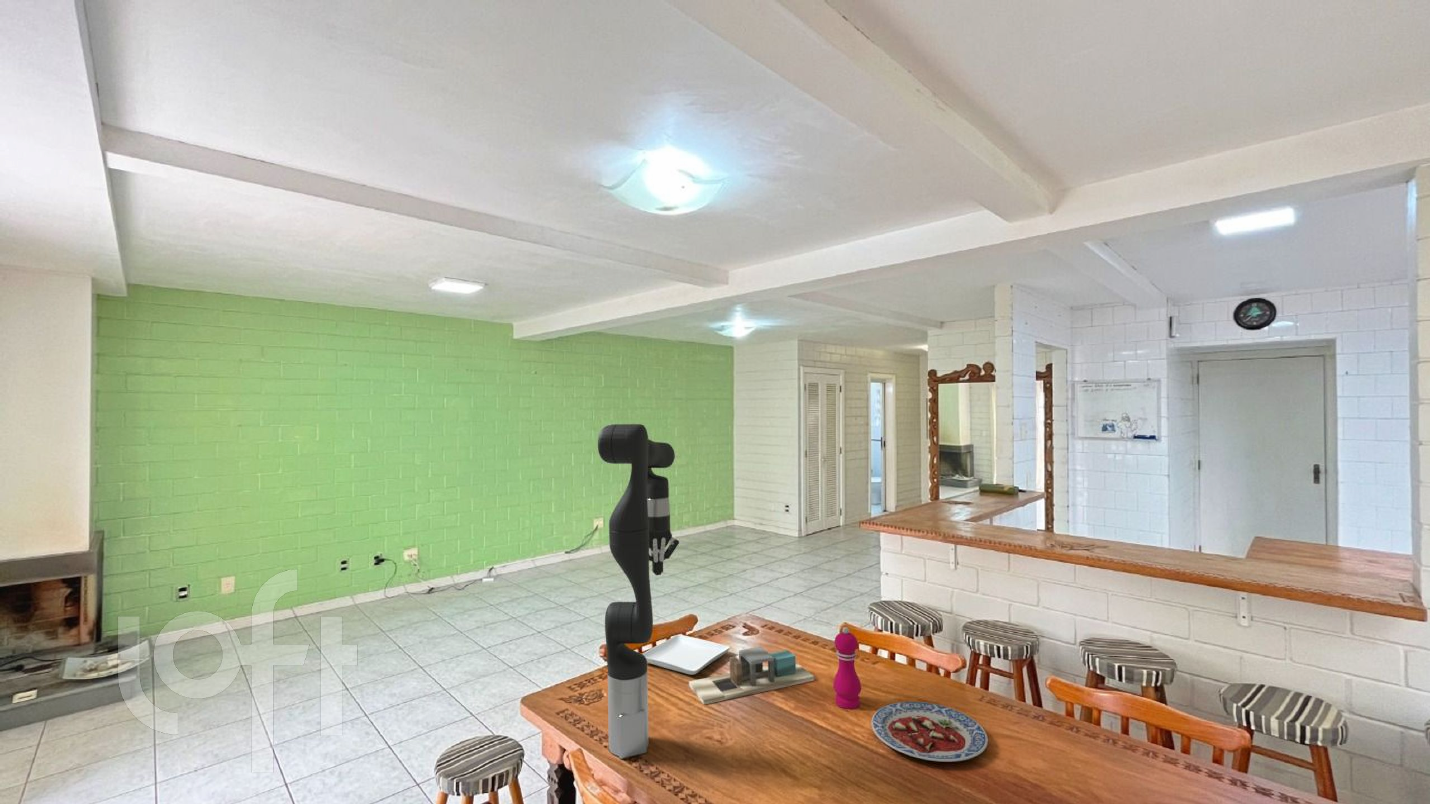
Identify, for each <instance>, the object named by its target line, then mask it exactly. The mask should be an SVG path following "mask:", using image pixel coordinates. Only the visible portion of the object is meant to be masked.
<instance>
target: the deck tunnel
mask: <svg viewBox="0 0 1430 804" xmlns="http://www.w3.org/2000/svg"><path fill="white" fill-rule="evenodd" d="M738 660H739V661H740V662H741V663H742V676H743V675H748V674H750V679H746V680H742V685H736V684H735V683H734V682H733V681H732V680H731V679H730V672H728V673H724V674H719V675H713V676H710V677H709V676H708V677H705V678H699V679H694V680H689V681H688V687H690V690H692V692H693V693H694V694H695V695H696V697H697V698H698V699H699V700H700V702H701V703H702V704H703V705H709V704H713V703H717V702H718V703H719V702H721V701H727V700H731V699H735V698H741V697H746V696H749V695H753V694H759V693H764V692H767V691H769V692H770V691H772V690H777V689H782V688H786V687H792V686H794V685H800V684H805V683H810V682H814V681H815V676H814V675H813V674H812V673H811V672H809V671H808V670H807V669H805V668H804V667H803V666H802V665H800V664H799V663H798V662H796V673H794V674H789V675H785V676H780V677H777V676H776V675H775V674H774V657H773V656H771V655H770V654H769V652H768V651H767V650H766V649H764V648H762V647H761V646H756V647H752V648H746V649H740V650H738ZM764 663H767V665H764ZM763 671H768V675H765V676H761V677H756V674H755V673H758V672H763Z"/></svg>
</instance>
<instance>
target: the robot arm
mask: <svg viewBox="0 0 1430 804" xmlns="http://www.w3.org/2000/svg"><path fill="white" fill-rule="evenodd" d="M597 452H598V454H599V457H600V459H602V461H604V462H605V463H607V464H614V465H617V464H618V465H619V464H620V465H621V464H622V465H624V464H625V465H627V464H629V465H631V470H630V476H629V481H628V484H627V486H626V488H625V491H624V493H623V494H622V496H621V498H620V499H619V501H618V502H617V504H616V506H615V507H614V509H613V510H612V513H611V515H610V517H609V521H608V536H609V538H608V539H609V542H608V543H609V550H610V553H611V555H612V557H613V558H614V560H615V561H616V563H617V564H618V566H619V568H620V569H621V570H622V571H623V573H624V575H625V576H626V577H627V579H628V581H629V583H630V585H631V587H632V590H633V593H634V597H635V601H613V602H611V603H610V604H609V605H608V606H607V608H606V610H605V615H604V632H605V633H604V634H605V643H606V644H605V645H606V646H605V647H606V664H607V714H608V716H607V720H608V721H607V722H608V723H607V725H608V750H609V752H610V753H611V754H613V755H615V756H616V757H617V756H618V757H619V759H626V758H630V757H633V756H637V755H642V754H645V753H647V750H648V747H649V705H648V703H649V702H648V701H649V699H648V697H649V695H648V692H649V691H648V690H649V688H648V662H647V660H646V657H645V656H644V655H642V654H643V653H641V652H639V651H636V650H634V649H632V648H630V647H628V644H630V645H632V644H635V645H637V644H638V645H640V644H646V643H647V644H648V642H649V641H650V640H651V638H652V636H653V628H654V617H653V615H654V614H653V603H652V593H651V584H650V583H651V581H650V580H651V579H650V562H651V566H652V567H651V571H652V573H653V574H654V575H655V576H661V575H662V573H664V561H665V560H668V559H670V558H671V556H672V554H673V553H674V552H675V550H676V548H677V547H678V546H679V544H680V541H679V540H678V539H677V538H674V537H673V534H672V532H671V506H670V505H671V504H670V497H669V496H670V492H669V491H670V490H669V489H670V484H669V479H668V478H667V477H665V476H662V475H658V474H656V473H655V472H654V471H653V469H667V468H669V467H670V466H672V465H673V464H674V462H675V457H676V453H675V450H674V448H673V446H672V445H671V443H668V442H660V441H654V440H651V439H649V435H648V430H647V428H646V427H645V425H643V424H639V423H637V424H636V423H632V424H630V423H628V424H627V423H625V424H624V423H623V424H621V423H619V424H618V423H617V424H616V423H615V424H608V425H606V426H604V427H602V428H601V430H600V432H599V433H598V438H597ZM667 546H668V547H667ZM666 547H667V548H666ZM626 644H627V645H626Z"/></svg>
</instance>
